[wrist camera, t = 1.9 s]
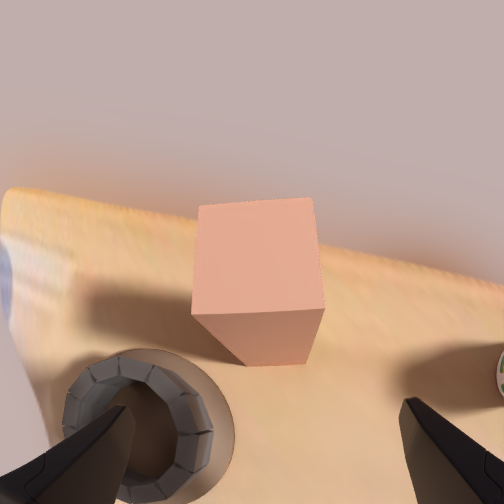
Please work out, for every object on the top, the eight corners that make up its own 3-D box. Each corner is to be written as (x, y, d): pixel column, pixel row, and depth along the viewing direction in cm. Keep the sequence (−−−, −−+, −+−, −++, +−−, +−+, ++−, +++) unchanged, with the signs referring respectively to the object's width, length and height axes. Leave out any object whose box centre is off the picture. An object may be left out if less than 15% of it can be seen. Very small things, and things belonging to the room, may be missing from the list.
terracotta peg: (305, 363, 21) (325, 308, 9) (247, 366, 21) (191, 314, 9) (302, 308, 22) (311, 197, 11) (246, 311, 23) (199, 205, 11)
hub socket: (167, 530, 15) (141, 551, 11) (63, 422, 20) (27, 419, 16) (271, 423, 19) (266, 428, 15) (146, 320, 23) (119, 301, 19)
